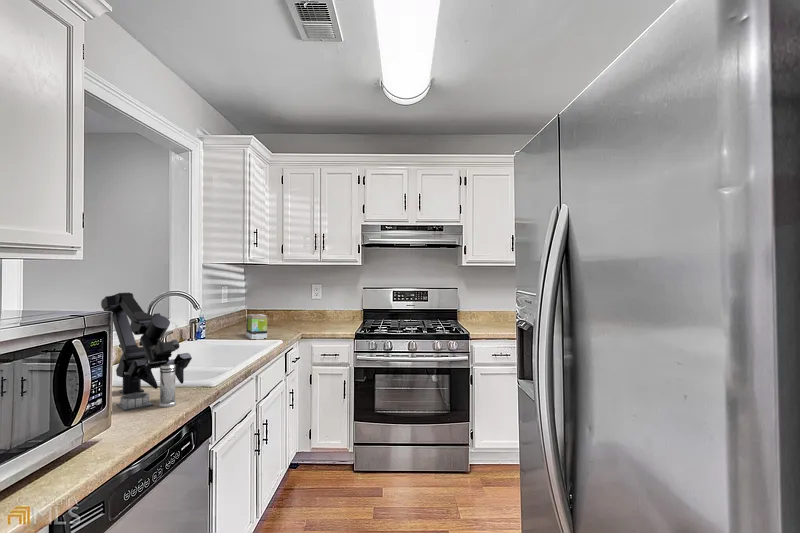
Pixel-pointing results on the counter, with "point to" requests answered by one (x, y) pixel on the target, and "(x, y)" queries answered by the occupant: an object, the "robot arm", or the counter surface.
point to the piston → (167, 385)
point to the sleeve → (134, 401)
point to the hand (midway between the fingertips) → (169, 385)
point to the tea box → (256, 326)
